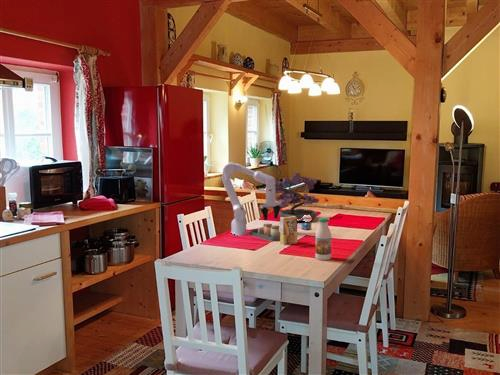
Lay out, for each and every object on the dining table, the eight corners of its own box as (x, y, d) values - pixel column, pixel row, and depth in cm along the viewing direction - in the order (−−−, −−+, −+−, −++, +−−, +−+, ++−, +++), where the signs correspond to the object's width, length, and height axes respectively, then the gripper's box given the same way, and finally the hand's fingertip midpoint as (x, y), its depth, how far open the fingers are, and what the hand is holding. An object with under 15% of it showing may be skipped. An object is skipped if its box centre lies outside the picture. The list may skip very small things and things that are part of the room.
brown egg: (268, 238, 278) (268, 226, 277) (275, 237, 281) (275, 225, 280) (274, 239, 274) (274, 227, 273) (281, 238, 277) (281, 226, 276)
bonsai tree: (320, 216, 345) (321, 171, 341) (315, 224, 319) (315, 175, 315) (273, 215, 355) (272, 171, 351) (264, 222, 329) (263, 174, 325)
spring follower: (255, 234, 288) (255, 227, 287) (263, 233, 291) (263, 225, 291) (259, 235, 284) (259, 228, 284) (267, 234, 288) (267, 226, 287)
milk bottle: (313, 256, 241) (313, 217, 238) (329, 256, 241) (329, 216, 239) (317, 260, 233) (317, 220, 231) (333, 260, 234) (333, 219, 231)
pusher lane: (248, 236, 288) (248, 229, 288) (264, 233, 295) (264, 227, 295) (271, 242, 270) (271, 236, 270) (287, 239, 277) (287, 233, 277)
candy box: (293, 242, 270) (293, 215, 268) (297, 244, 266) (297, 217, 264) (279, 244, 266) (279, 217, 264) (283, 246, 262) (283, 218, 260)
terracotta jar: (262, 236, 283) (261, 224, 282) (268, 235, 286) (268, 223, 285) (267, 237, 279) (266, 225, 278) (273, 236, 282) (273, 224, 281)
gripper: (265, 198, 281) (265, 221, 283) (284, 196, 290) (284, 218, 291) (257, 197, 287) (258, 219, 289) (276, 195, 295) (276, 216, 297)
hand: (270, 219), depth 290 cm, fingers open, 7 cm apart
